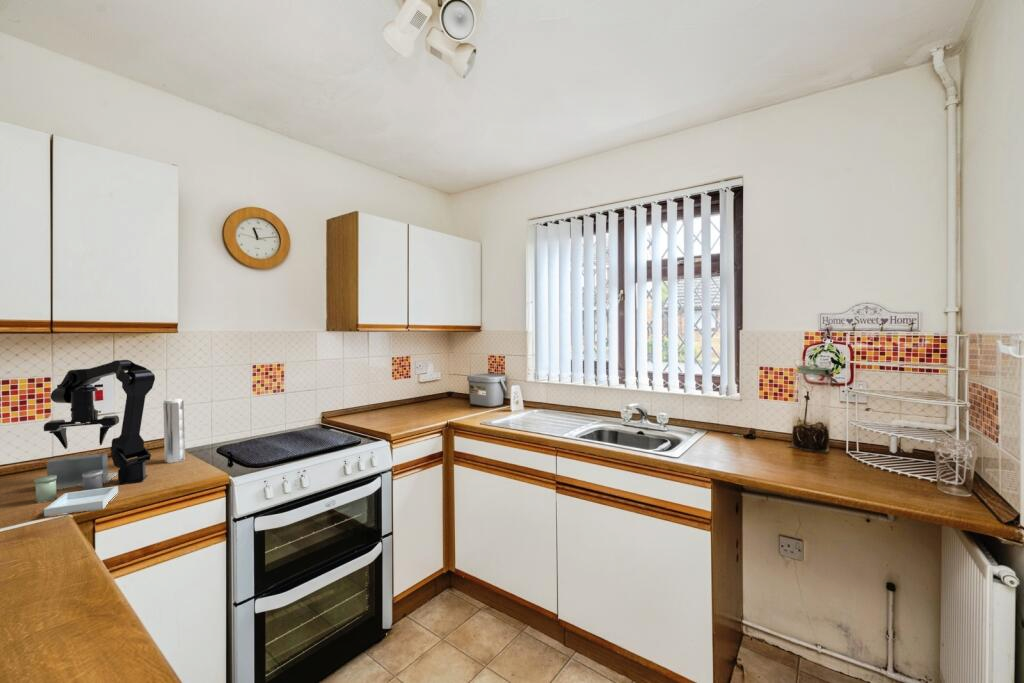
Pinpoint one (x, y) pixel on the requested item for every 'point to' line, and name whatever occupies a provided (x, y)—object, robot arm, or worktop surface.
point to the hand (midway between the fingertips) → (83, 446)
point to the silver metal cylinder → (174, 430)
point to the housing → (77, 469)
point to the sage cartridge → (45, 488)
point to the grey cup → (92, 479)
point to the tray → (82, 501)
